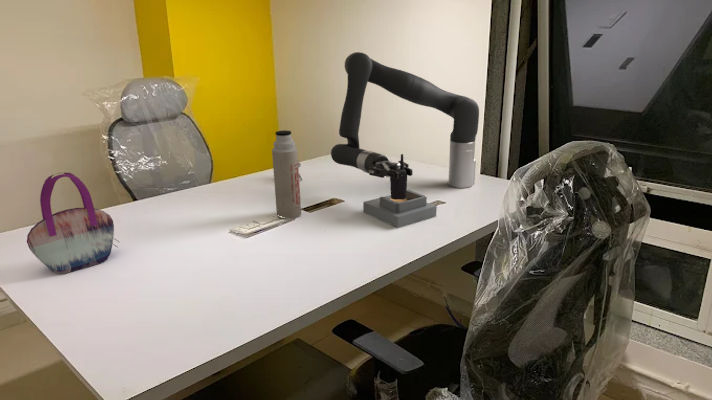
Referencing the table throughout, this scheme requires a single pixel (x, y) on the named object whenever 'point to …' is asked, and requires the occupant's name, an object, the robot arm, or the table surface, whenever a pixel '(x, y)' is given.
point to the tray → (401, 209)
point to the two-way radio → (399, 182)
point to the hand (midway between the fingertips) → (404, 174)
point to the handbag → (71, 232)
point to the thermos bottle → (286, 175)
